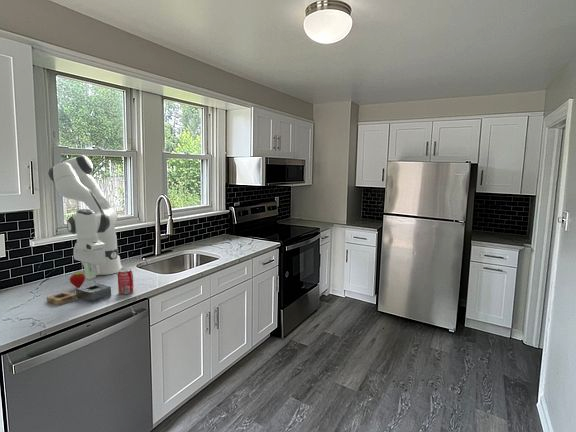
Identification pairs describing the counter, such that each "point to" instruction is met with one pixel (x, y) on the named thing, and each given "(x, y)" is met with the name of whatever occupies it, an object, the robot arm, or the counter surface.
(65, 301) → the wooden square frame
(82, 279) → the strawberry
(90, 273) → the plug
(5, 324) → the counter surface
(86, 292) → the port block
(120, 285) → the soda can
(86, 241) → the robot arm
